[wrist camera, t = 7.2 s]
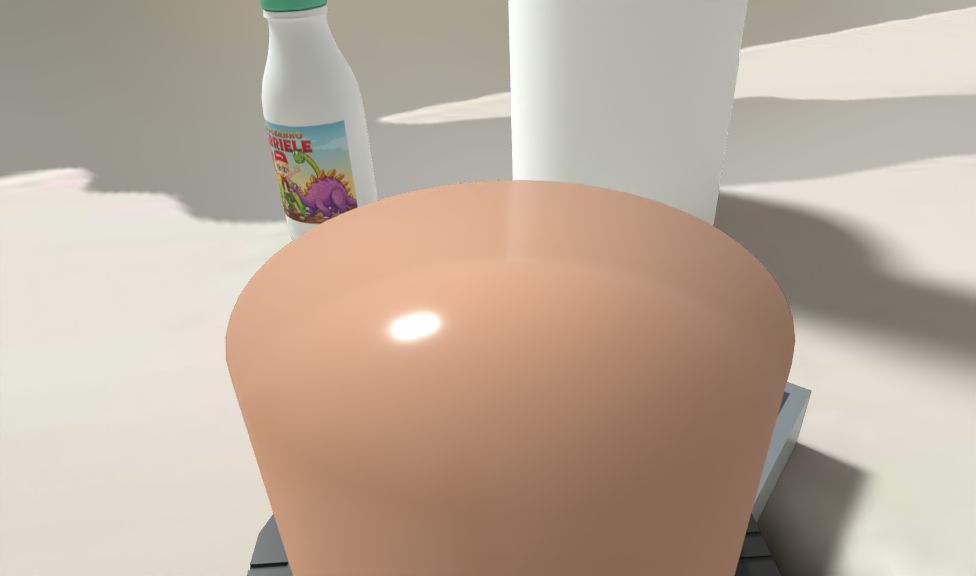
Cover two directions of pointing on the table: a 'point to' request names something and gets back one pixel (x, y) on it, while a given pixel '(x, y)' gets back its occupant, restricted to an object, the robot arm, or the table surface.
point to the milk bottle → (313, 118)
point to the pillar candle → (511, 385)
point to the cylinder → (625, 95)
